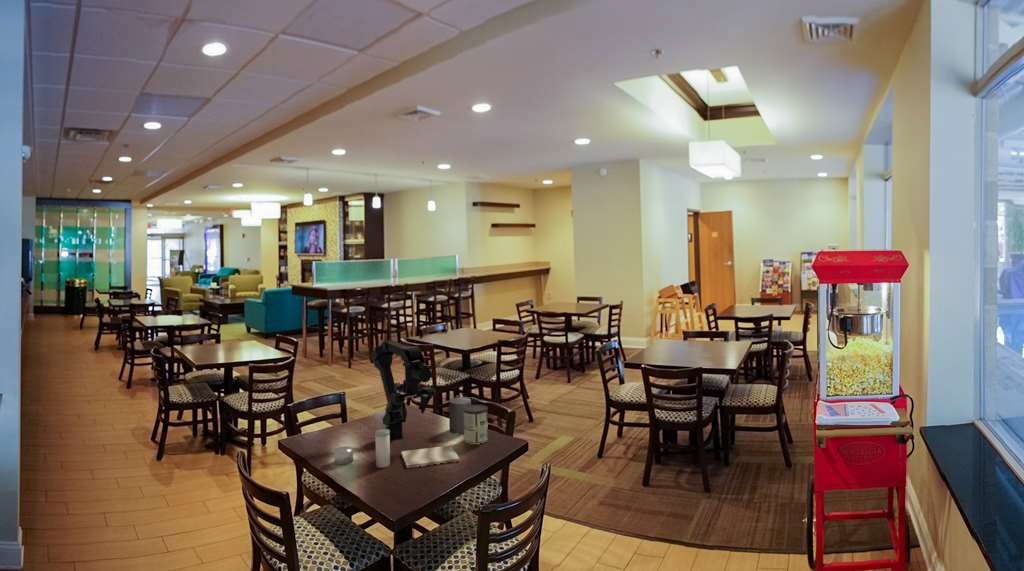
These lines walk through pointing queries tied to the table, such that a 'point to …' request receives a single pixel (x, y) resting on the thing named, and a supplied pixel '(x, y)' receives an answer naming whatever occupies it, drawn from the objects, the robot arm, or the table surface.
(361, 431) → the table surface
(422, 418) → the table surface
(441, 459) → the birch board
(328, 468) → the table surface
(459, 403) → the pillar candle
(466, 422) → the coffee can
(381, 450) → the white cylinder
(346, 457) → the grey tin
